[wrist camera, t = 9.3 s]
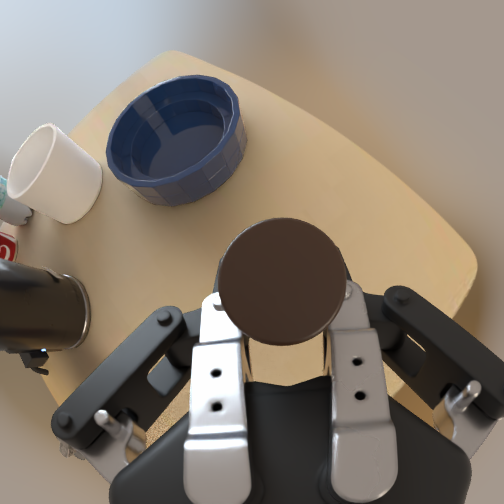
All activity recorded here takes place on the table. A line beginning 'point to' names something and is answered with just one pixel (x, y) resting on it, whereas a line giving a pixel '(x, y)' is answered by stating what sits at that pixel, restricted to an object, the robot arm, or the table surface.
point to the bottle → (12, 207)
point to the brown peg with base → (282, 281)
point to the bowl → (178, 140)
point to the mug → (54, 175)
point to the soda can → (8, 247)
